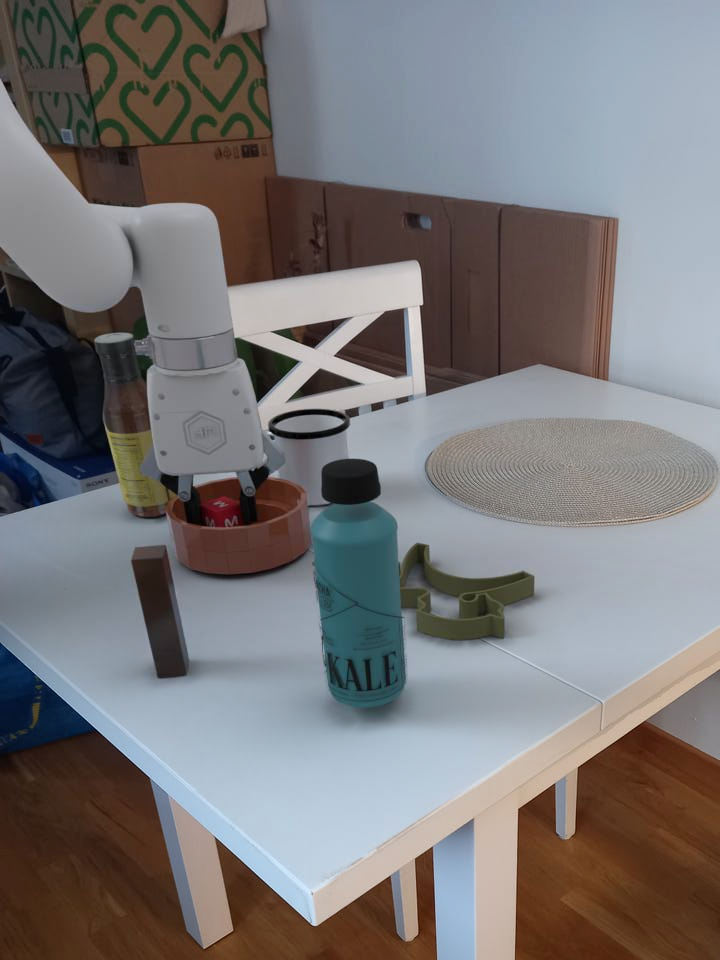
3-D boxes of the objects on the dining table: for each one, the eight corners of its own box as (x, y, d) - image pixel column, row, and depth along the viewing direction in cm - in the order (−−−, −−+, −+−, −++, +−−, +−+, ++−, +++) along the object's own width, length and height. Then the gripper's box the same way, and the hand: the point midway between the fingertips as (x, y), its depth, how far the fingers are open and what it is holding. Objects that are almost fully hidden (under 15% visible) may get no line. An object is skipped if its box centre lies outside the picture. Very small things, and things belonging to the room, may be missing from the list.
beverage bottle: (376, 670, 78) (357, 441, 68) (426, 702, 74) (415, 464, 63) (311, 701, 74) (281, 463, 64) (361, 737, 70) (337, 490, 60)
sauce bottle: (159, 495, 112) (124, 325, 101) (193, 506, 109) (161, 333, 98) (113, 513, 107) (72, 337, 97) (147, 525, 104) (108, 345, 94)
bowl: (168, 585, 92) (158, 534, 89) (182, 527, 104) (174, 481, 101) (313, 572, 94) (307, 523, 91) (310, 517, 106) (305, 471, 103)
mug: (371, 488, 113) (366, 415, 108) (322, 515, 106) (314, 438, 101) (296, 470, 118) (288, 400, 114) (244, 495, 111) (233, 422, 107)
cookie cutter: (552, 597, 89) (553, 579, 88) (484, 653, 80) (484, 633, 79) (404, 553, 97) (403, 536, 96) (328, 599, 89) (326, 581, 88)
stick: (157, 678, 77) (130, 559, 72) (160, 663, 79) (134, 546, 74) (186, 675, 78) (162, 557, 72) (189, 660, 80) (165, 544, 74)
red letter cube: (204, 531, 95) (199, 504, 94) (228, 522, 97) (224, 496, 96) (221, 539, 94) (216, 512, 92) (245, 530, 96) (241, 503, 94)
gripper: (93, 365, 82) (135, 552, 91) (286, 355, 84) (307, 538, 94) (107, 345, 88) (145, 522, 97) (286, 336, 90) (306, 509, 100)
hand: (224, 528), depth 95 cm, fingers closed on red letter cube, 4 cm apart
